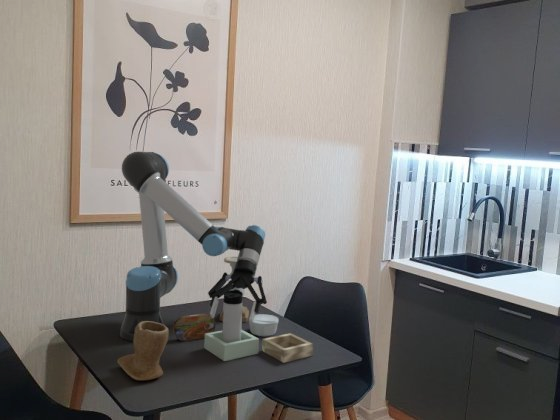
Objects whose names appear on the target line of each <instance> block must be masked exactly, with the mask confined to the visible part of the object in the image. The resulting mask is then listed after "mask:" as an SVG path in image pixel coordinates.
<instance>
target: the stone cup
mask: <svg viewBox="0 0 560 420" xmlns="http://www.w3.org/2000/svg"><path fill="white" fill-rule="evenodd" d="M169 333H170V332H169V328H168V327H167V326H166V325H165V324H164V323H163V324H161V323H157V322H153V321H142V322H140V323H139V324H137V326H136V327H135V332H134V339H133V341H132V343H133V350H134V353H131V354H126V355H123V356H121V357H120V358H119V357H118V359H117V364H118V365H119V367H121V368H122V370H123V371H124V372H125V373H126V374H127V375H128V376H130V378H132V379H133V380H136V381H150V380H154V379H157V378H160V377H162V376H163V374H164V370H163V369H162V366H161V365H160V359H161V356H162V354H163V352H164V350H165V347H166V345H167V344H168V340H169Z"/></svg>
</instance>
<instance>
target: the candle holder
mask: <svg viewBox="0 0 560 420" xmlns="http://www.w3.org/2000/svg"><path fill="white" fill-rule="evenodd" d="M237 258H238V256H228V257H225V258H224V259H223V262H224V263H227V264H229V266H230V268H231V272H230V273H229V275H232V274H233V272H234V268H235V265H236V262H237ZM232 285H233V284H232ZM233 290H240V292H242V293H243V296H245V289H242V288H236V287H235V288H234V289H231V290H229V291H233ZM242 302H243V299H242ZM243 303H244V302H243ZM249 317H250V309H248V307H247V306H244V305H242V323H247V322H249ZM218 320H219V322H223V309H222V310H221V312H220V314H219V319H218Z"/></svg>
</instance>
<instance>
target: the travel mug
mask: <svg viewBox="0 0 560 420" xmlns="http://www.w3.org/2000/svg"><path fill="white" fill-rule="evenodd" d="M243 297H244V295H243V293H242V292H240V290H233V291H227V292H225V293H224V295H223V302H222V303H223V305H222V310H223V321H222V327H221V328H222V330H221V331H222V341H223V342H225V343H226V344H227V343H232V342H237V341H241V329H242V323H243V322H242V306H243V303H244V302H242V300H243Z"/></svg>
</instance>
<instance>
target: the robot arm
mask: <svg viewBox="0 0 560 420" xmlns="http://www.w3.org/2000/svg"><path fill="white" fill-rule="evenodd" d="M169 167H170V166H169V164H168V161H167V160H166V158H165V157H164V156H163V155H161V154H159V153H157V152H154V151H134V152H131V153H129V154H128V155H126V157H125V158H124V159H123V161H122V163H121V173H122V176H123V178H124V179H125V180H126V181H127V182H128V184H129V185H130V186H131V187H133V189H134V191H135V192H137V193H138V196H139V209H140V217H141V218H140V219H141V220H140V221H141V232H142V242H143V254H144V257H143V258H142V260H141V261H140V266H139V267H137V266H136V267H134V268H131V269H130V270H129V271H128V272H127V274H126V279H125V315H124V317H123V320H122V324H121V326H120V332H119V336H120V338H121V339H123V340H125V341H130V342H133V339H134V332H135V327H136V326H137V324H139V323H140V322H142V321H153V322H157V323H161V324H163V325H164V321H163V319H162V316H161V310H160V309H161V298H162V297H164V296H165V295H167V294H169V293H170V292H171V291H172V290H173V289H174V288H175V287H176V285H177V284H178V280H179V274H178V273H179V272H178V270H177V268H176V267H175V266H174V263H173V258H172V257H171V256H170V255H169V253H168V252H169V251H168V241H167V240H168V239H167V229H166V227H167V226H166V219H165V218H166V216H165V213H166V214H167V215H168V216H169V217H171V218H172V220H174V221H175V222H176V223H178V225H179V226H180V227H182V228H183V229H184V231H186V232H187V233H188V234H189V235H191V236H192V237H193V239H195V240H196V241H197V242H198V243H199V244H201V246H202V250H203V252H204V253H205V254H206V255H208V256H210V257H218V256H221V255H223V254H224V253H226V252H227V251H228V250H232V251H238V254H237V255H238V256H237V257H238V258H237V262H236V265H235V268H234V272H233V274H232V275H230V273H229V274H228V272H226V271H225V272H224V273H223V274H222V276H221V278H220V279H219V280H218V281H217V282H216V283H215V285H213V286H212V287H211V289H210V290H209V291H208V292H207V295H208V296H209V297H208V298H210V299H211V300H210V303H209V306H210V308H211V309H210V311H209V315H210V316H211V318H213V319H215V316H216V315H215V314H216V312H217V308H218V305H219V303H220V300H219V299H220V298H221V297H224V293H225V292H227V291H229V290H231V289H234V288H235V287H236V288H242V289H244V290H246V289H247V290H248V291H249V292H250V294H251V296H252V297H253V298H254V300H253V303H252V306H251V307H252V308H251V311H250V313H249V317H250V318H249V317H248V320H249V319H250V322H251V323H253V321H254V317H255V315H256V314H258V313H259V312H260V309H261V305H266V304H267V303H268V302H267V298H266V293H265V291H264V288H263V277H262V276H261V275H258V276H257V277H256V271H257V268H258V265H259V261H260V258H261V257H260V256H261V254H262V250H263V247H264V243H265V237H266V231H265V230H264V228H263V227H261V226H259V225H255V224H253V225H248V226H247V227H246V229H245V230H244V229H243V230H242V229H235V228H229V227H224V226H215V225H214V224H212V223H211V222H210V221H209V220H208V219H206V217H205V216H203V214H201V213H200V212H199V211H198V210H197V209H196V208H195V207H194V206H193V205H192V204H190V203H189V202H188V201H187V200H186V199H185V198H184V197H183V196H181V195H180V193H178V192H177V191H176V190H175V189H174V188H173V187H172V186H170V185H169V183H167V180H166V179H167V177H168V176H169V174H170V173H169V172H170V170H169V169H170V168H169ZM253 283H256V284H257V286H258V289H259V293H260V296H261V298H260V296H259V295H258V293H257V292H256V290H255V289H254V287H253V286H252V284H253ZM232 284H233V285H232Z"/></svg>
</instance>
